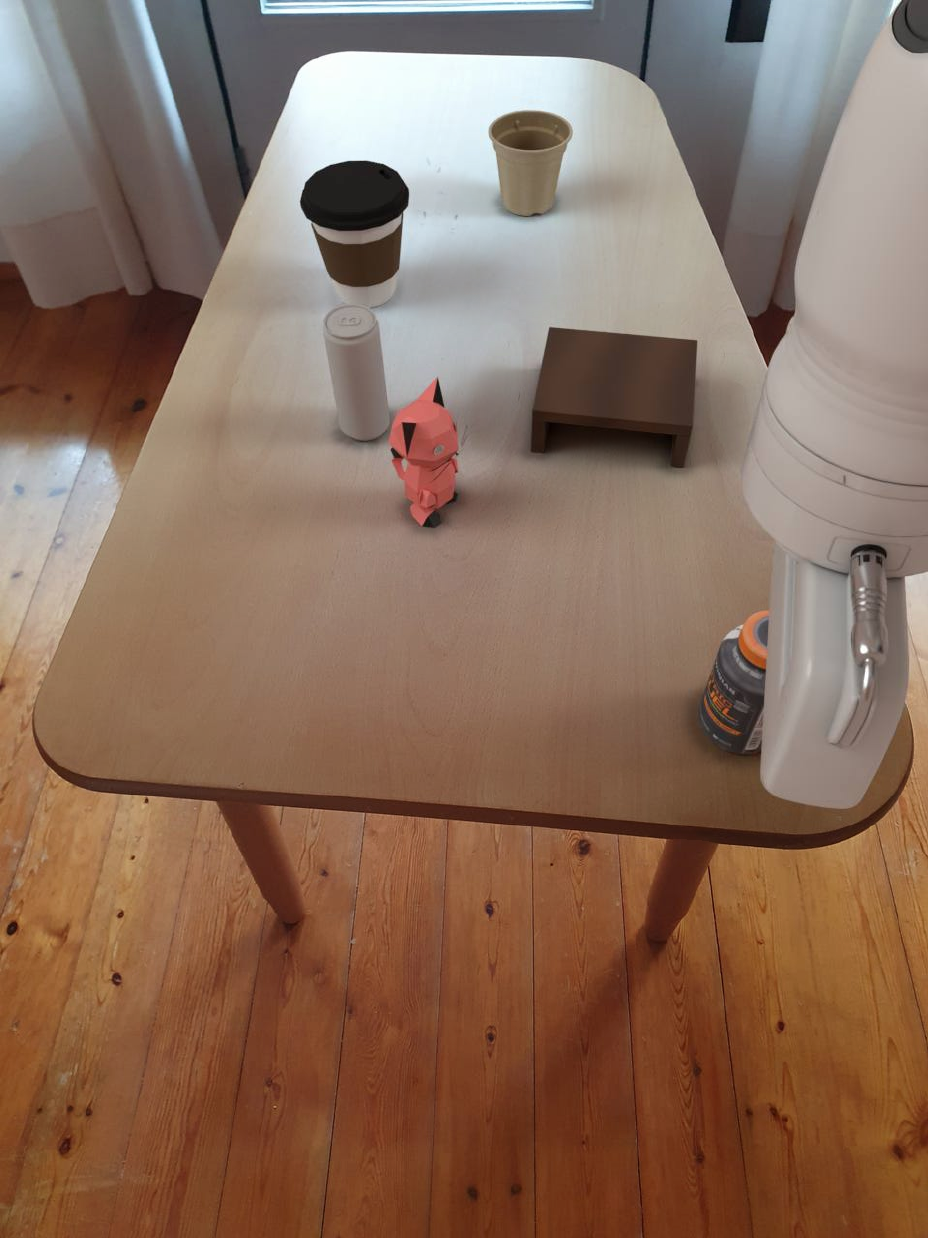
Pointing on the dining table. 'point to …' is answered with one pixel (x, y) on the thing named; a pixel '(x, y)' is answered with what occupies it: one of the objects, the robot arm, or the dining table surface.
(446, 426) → the cat figurine
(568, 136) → the flower pot
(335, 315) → the beverage can
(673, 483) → the dining table surface
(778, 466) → the robot arm
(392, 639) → the dining table surface
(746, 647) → the pill bottle
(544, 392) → the shelf
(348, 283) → the coffee cup
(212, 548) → the dining table surface
